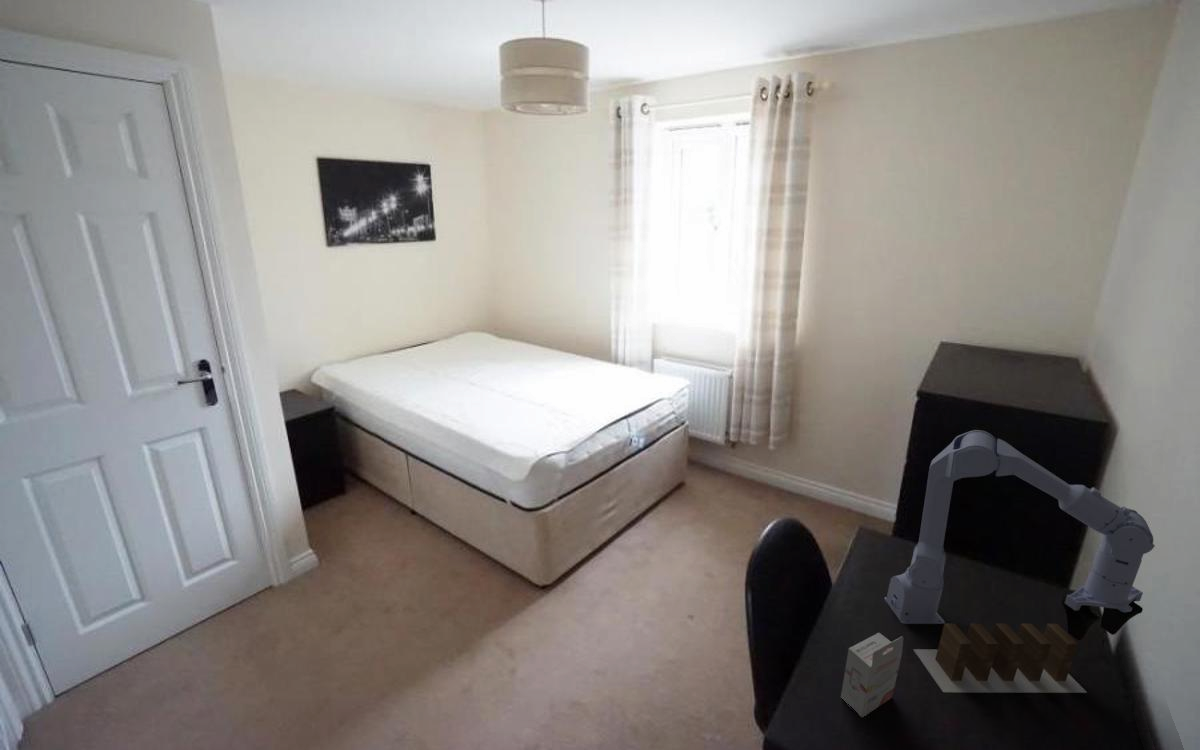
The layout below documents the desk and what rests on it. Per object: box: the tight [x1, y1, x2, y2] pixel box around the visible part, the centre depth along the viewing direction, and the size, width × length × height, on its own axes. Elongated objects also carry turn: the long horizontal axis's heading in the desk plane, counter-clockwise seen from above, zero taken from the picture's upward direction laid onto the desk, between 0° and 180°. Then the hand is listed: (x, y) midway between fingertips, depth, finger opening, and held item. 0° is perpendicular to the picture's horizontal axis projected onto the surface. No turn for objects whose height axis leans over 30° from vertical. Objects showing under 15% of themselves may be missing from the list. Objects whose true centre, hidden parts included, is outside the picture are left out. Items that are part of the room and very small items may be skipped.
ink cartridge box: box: [840, 632, 904, 718], centre depth 96 cm, size 9×5×15 cm, turn 118°
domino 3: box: [991, 623, 1025, 681], centre depth 103 cm, size 2×5×9 cm, turn 0°
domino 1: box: [935, 622, 972, 681], centre depth 103 cm, size 2×5×9 cm, turn 0°
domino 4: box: [1016, 623, 1052, 681], centre depth 103 cm, size 2×5×9 cm, turn 0°
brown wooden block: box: [1042, 623, 1079, 681], centre depth 103 cm, size 2×5×9 cm, turn 179°
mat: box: [913, 648, 1088, 694], centre depth 104 cm, size 27×10×1 cm, turn 90°
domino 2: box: [965, 622, 998, 681], centre depth 103 cm, size 2×5×9 cm, turn 0°
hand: (1091, 633), depth 101 cm, fingers open, 7 cm apart
